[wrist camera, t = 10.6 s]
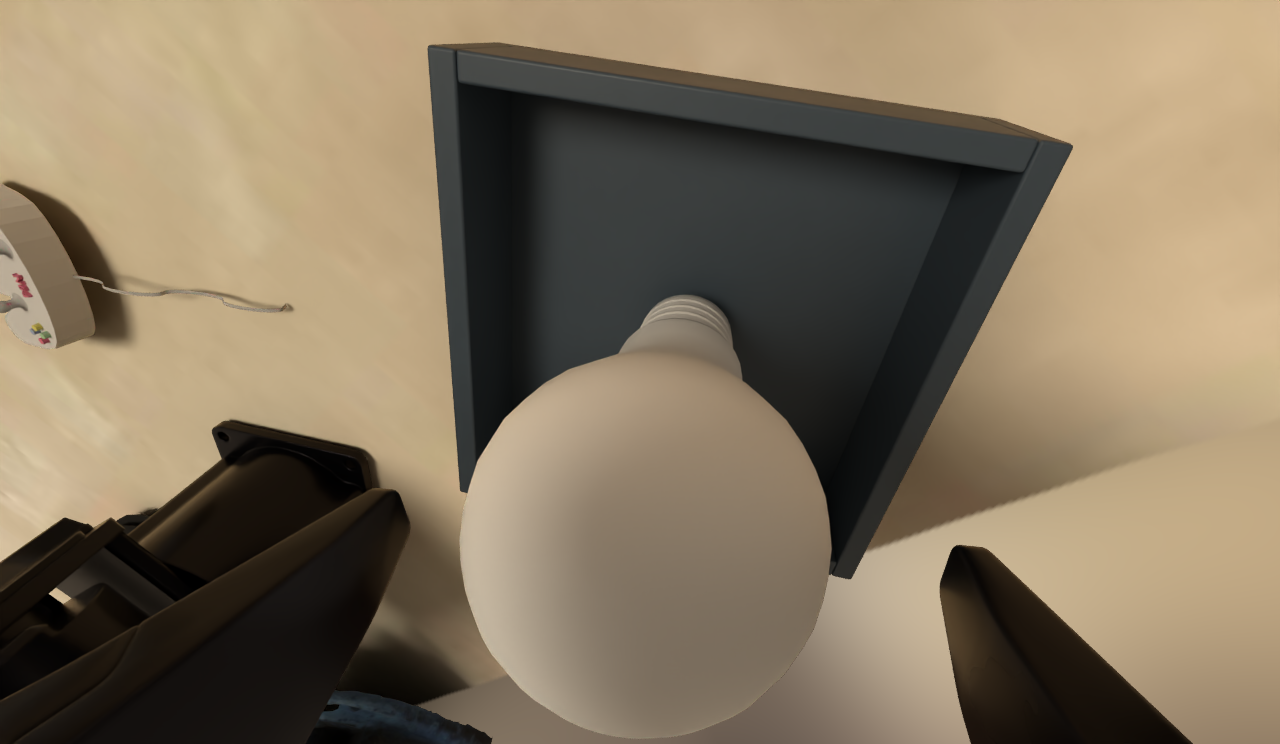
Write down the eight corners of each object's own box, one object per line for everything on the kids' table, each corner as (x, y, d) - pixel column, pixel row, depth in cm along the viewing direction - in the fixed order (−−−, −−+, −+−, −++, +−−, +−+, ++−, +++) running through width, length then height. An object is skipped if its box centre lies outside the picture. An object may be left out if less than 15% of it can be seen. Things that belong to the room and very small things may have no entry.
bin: (502, 425, 20) (459, 492, 17) (496, 42, 14) (425, 44, 11) (836, 497, 19) (851, 581, 16) (1002, 119, 13) (1076, 145, 10)
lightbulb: (843, 288, 15) (987, 712, 6) (725, 437, 18) (696, 856, 9) (643, 176, 14) (441, 450, 5) (558, 351, 18) (345, 709, 8)
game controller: (-61, 186, 19) (-167, 205, 17) (200, 132, 17) (115, 146, 14) (51, 332, 22) (-27, 366, 20) (291, 306, 19) (232, 341, 17)
